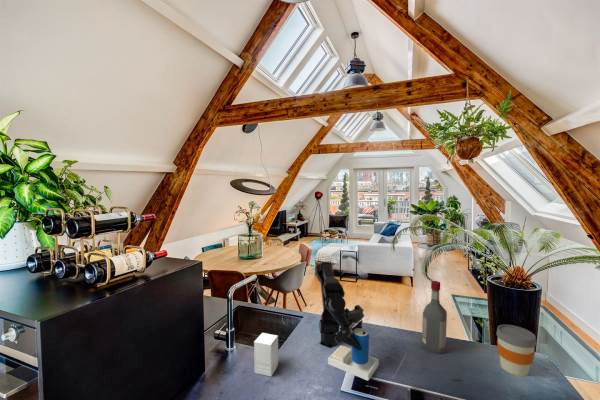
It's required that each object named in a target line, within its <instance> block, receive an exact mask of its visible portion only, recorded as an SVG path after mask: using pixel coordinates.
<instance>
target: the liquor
mask: <svg viewBox="0 0 600 400" xmlns="http://www.w3.org/2000/svg"><path fill="white" fill-rule="evenodd" d="M430 283H431V284H430V289H431V297H430V302H429V303H428V304H426V305H425V307H424V309H423V312H422V324H421V325H422V329H421V331H422V332H421V346H422V348H423V349H424V350H425V351H426V352H431V353H434V354H436V355H441V354H444V353H445V351H446V347H447V323H448V322H447V318H448V313H447V310H446V309H445V308H444V307H443V306H442V304H441V302H440V291H441V281H439V280H431V282H430Z"/></svg>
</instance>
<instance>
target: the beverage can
mask: <svg viewBox="0 0 600 400" xmlns="http://www.w3.org/2000/svg"><path fill="white" fill-rule="evenodd" d="M362 328H363V327H362ZM362 328H357V329H354V337H355V338H356V340H357V341H358V343H359V344H360V346H361V348H362V350H361V351H359V350H358V349H356V348H354V347H352V346H351V349H352V360H353V361H354V362H355V363H356V364H358V365H364V364H366V363H368V360H369V356H370V353H369V351H370V334H369V331H368V330H367V329H364V328H363V329H362Z"/></svg>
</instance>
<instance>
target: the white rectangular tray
mask: <svg viewBox="0 0 600 400" xmlns="http://www.w3.org/2000/svg"><path fill="white" fill-rule="evenodd" d="M341 346H342V345H340V346H338V348H337V349H336V350H334V352H332V353H331V354H330V355H329V357H328V358H327V363H328V365H329V366H332V367H335V368H336V369H339V370H342V371H343V372H346V373H348V374H351V375H353V376H356V377H358V378H361V379H362V380H365V381H369V380H370V379H371V377H372V376H373V374H374V373H375V372H376V370H377V369H378V367H379V365H380V363H379V361H380V360H379V358H376V357H373V356H371V355H369V360H368V363H366V364H364V365H358V364H356V363H355V362H354V361H353V360H352V358H351V359H350V361H349V362H348V363H347V364H345V363H342V362H340V361H337V360H335V359H332V355H333V354H334V353H335V352H336V351H337V350H338V349H339V348H340V347H341Z"/></svg>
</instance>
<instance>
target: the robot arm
mask: <svg viewBox="0 0 600 400" xmlns="http://www.w3.org/2000/svg"><path fill="white" fill-rule="evenodd" d="M314 274H315V275H316V279H317V280H318V282H319V283H320V290H321V299H322V300H321V302H322V309H323V310H322V314H321V316H320V319H319V322H318V330H319V333H320V342H319V343H318V344H319V345H321V346H324V347H326V348H329V349H332V348H334V347H335V346H337V344H340V343H345V344H347V345H349V346H351V348H352V347H354V348H356V349H358V350H359V351H361V350H362V348H361V346H360V344H359V343H358V341H357V340H356V338H355V337H354V329H357V328H362V329H364V328H363V318H364V317H365V314H364V311H365V310H364V309H363V307H362V306H361V305H359V304H356V305H355V306H354V308H353V309H352V310H350V309H349V308H348V307H347V308H346V304H347V303H346V300H345V299H344V297H345V296H346V295H345V293H346V292H345V289H344V288H343V286H342V284H341V283H340V281H339V279H337V278H335V275H334V269H333V263H331V262H329V261H321V262H320V263H318V264H316V265H315V267H314Z"/></svg>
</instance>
